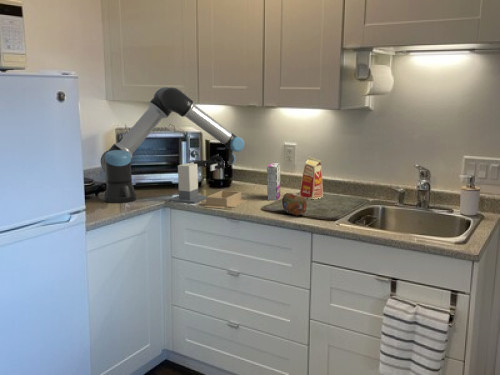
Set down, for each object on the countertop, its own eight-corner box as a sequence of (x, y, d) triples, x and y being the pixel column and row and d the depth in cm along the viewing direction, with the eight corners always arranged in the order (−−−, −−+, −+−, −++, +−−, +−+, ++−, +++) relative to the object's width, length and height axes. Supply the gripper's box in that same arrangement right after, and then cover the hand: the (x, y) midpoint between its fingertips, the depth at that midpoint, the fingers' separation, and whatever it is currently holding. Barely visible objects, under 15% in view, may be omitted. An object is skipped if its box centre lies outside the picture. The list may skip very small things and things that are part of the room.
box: (179, 198, 245) (177, 165, 242) (187, 195, 253) (186, 163, 250) (190, 199, 243) (189, 166, 240) (198, 196, 250) (197, 163, 247)
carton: (196, 206, 234) (195, 197, 233) (218, 196, 254) (218, 188, 254) (230, 209, 227) (230, 200, 226) (250, 199, 248) (250, 191, 247)
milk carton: (299, 197, 250) (299, 157, 246) (309, 194, 257) (310, 155, 253) (314, 200, 244) (315, 158, 241) (325, 197, 251) (326, 156, 248)
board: (168, 201, 244) (168, 199, 244) (183, 195, 257) (183, 193, 257) (194, 203, 239) (194, 201, 239) (208, 197, 252) (208, 195, 251)
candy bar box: (270, 195, 256) (270, 162, 253) (280, 195, 255) (280, 163, 252) (266, 200, 245) (266, 166, 242) (277, 200, 244) (277, 166, 241)
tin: (281, 210, 225) (281, 191, 223) (287, 209, 226) (287, 190, 225) (301, 217, 212) (301, 197, 210) (307, 216, 214) (308, 196, 212)
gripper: (239, 170, 270) (221, 176, 251) (197, 167, 279) (177, 173, 260) (239, 156, 268) (221, 161, 249) (197, 153, 278) (176, 158, 259)
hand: (198, 167), depth 255 cm, fingers open, 13 cm apart
